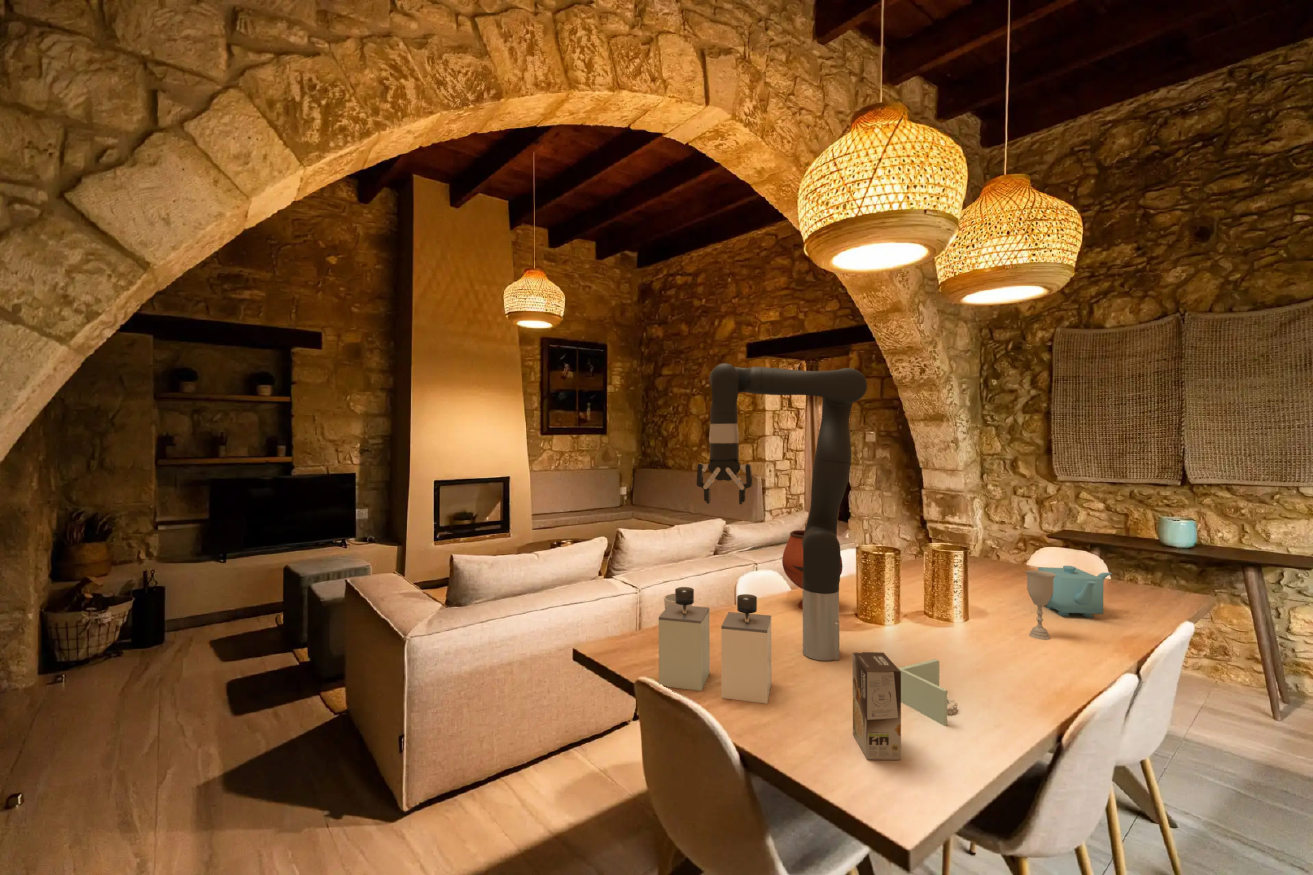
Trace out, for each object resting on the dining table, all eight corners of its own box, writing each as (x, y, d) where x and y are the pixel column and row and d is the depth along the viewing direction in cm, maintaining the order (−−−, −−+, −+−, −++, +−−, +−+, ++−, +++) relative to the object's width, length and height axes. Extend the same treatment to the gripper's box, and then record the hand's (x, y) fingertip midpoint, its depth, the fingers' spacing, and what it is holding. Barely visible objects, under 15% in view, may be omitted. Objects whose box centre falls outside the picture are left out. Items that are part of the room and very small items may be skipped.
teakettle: (1047, 599, 196) (1047, 557, 195) (1115, 613, 181) (1115, 567, 180) (1025, 611, 184) (1025, 565, 184) (1096, 626, 169) (1096, 577, 169)
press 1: (709, 672, 139) (709, 607, 138) (701, 690, 129) (700, 620, 129) (669, 667, 141) (669, 604, 141) (658, 685, 132) (658, 617, 132)
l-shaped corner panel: (944, 728, 114) (944, 690, 114) (896, 702, 125) (896, 668, 125) (984, 715, 119) (984, 679, 119) (935, 691, 130) (935, 658, 129)
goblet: (845, 602, 193) (845, 529, 193) (838, 620, 176) (838, 540, 175) (788, 596, 201) (788, 525, 200) (776, 612, 183) (776, 535, 183)
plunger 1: (704, 665, 138) (704, 586, 138) (697, 679, 130) (697, 595, 130) (672, 661, 140) (672, 583, 140) (664, 675, 132) (663, 592, 132)
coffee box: (902, 760, 102) (903, 671, 102) (866, 760, 102) (866, 671, 102) (883, 733, 111) (884, 651, 111) (850, 732, 111) (850, 651, 111)
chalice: (1027, 638, 160) (1027, 574, 160) (1022, 630, 166) (1022, 569, 166) (1058, 642, 157) (1058, 577, 157) (1051, 633, 163) (1052, 571, 163)
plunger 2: (766, 676, 132) (766, 593, 131) (763, 691, 124) (763, 603, 124) (732, 672, 134) (732, 590, 134) (726, 687, 126) (726, 600, 126)
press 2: (771, 683, 133) (771, 615, 132) (767, 703, 123) (767, 630, 123) (728, 678, 135) (728, 611, 135) (721, 697, 126) (721, 625, 125)
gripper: (753, 441, 149) (753, 502, 150) (700, 441, 153) (700, 501, 153) (749, 441, 142) (750, 506, 142) (694, 441, 146) (694, 504, 146)
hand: (724, 503), depth 148 cm, fingers open, 8 cm apart
